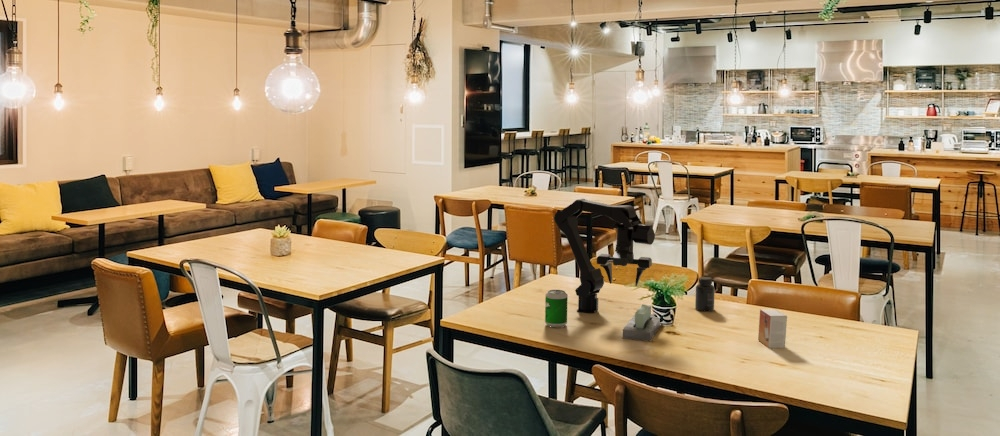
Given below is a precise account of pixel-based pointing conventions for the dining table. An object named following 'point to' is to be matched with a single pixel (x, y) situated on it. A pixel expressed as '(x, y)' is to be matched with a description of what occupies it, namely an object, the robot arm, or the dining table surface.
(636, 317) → the staple
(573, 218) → the robot arm
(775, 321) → the small box
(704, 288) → the supplement bottle
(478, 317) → the dining table surface
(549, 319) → the soda can
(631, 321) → the rail
